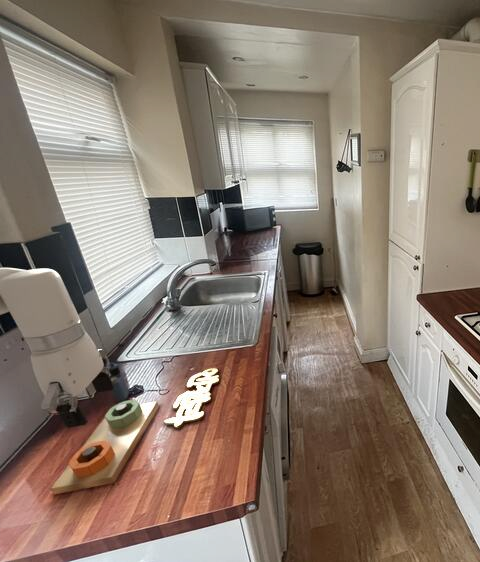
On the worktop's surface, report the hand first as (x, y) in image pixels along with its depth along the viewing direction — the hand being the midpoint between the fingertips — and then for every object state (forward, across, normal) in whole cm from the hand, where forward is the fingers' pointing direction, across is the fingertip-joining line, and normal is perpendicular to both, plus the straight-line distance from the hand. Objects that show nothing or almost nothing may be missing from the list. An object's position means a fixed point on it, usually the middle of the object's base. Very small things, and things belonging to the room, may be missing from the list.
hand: (92, 406), depth 63 cm
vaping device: (+22, -32, -15) cm, 41 cm away
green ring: (+20, -19, -8) cm, 29 cm away
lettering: (+22, -26, +8) cm, 35 cm away
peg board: (+22, -12, -9) cm, 27 cm away
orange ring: (+20, -5, -9) cm, 23 cm away
